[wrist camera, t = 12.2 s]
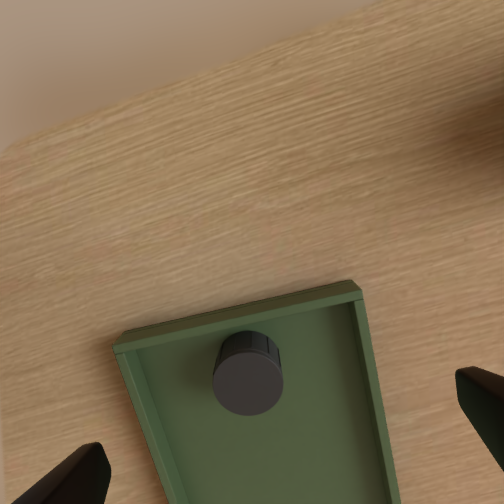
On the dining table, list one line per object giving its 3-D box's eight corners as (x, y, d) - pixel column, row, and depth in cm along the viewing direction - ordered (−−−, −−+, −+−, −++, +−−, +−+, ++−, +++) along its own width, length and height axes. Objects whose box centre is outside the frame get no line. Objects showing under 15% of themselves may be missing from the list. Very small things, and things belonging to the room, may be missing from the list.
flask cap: (283, 382, 21) (288, 411, 18) (223, 390, 21) (218, 420, 19) (275, 326, 20) (278, 347, 18) (213, 334, 20) (206, 357, 18)
